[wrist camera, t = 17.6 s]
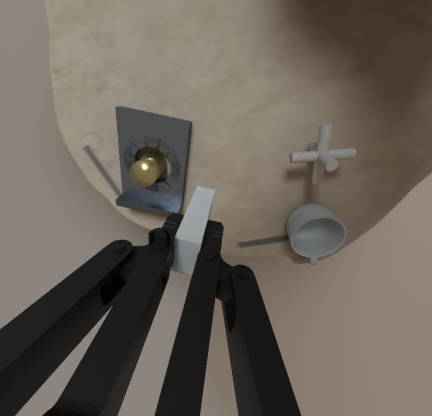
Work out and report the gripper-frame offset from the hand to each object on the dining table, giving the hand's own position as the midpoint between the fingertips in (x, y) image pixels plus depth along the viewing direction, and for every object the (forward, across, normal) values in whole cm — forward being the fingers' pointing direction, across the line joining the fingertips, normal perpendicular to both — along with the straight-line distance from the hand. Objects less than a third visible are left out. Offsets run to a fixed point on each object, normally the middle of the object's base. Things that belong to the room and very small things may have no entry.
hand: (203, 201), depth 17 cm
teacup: (+27, +23, -16) cm, 39 cm away
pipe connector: (+27, +17, +1) cm, 32 cm away
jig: (+26, -14, -9) cm, 31 cm away
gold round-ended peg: (+26, -14, -9) cm, 31 cm away
